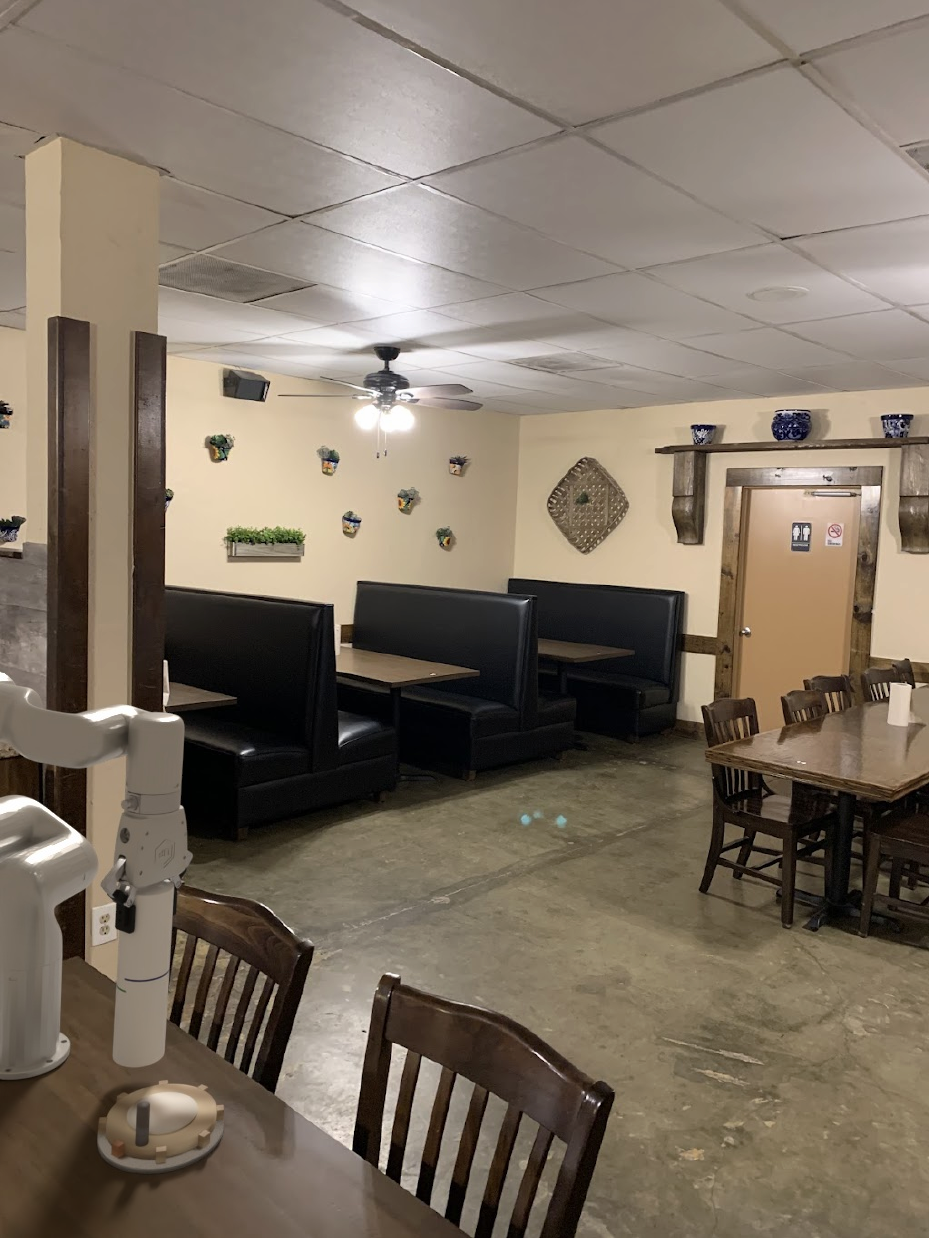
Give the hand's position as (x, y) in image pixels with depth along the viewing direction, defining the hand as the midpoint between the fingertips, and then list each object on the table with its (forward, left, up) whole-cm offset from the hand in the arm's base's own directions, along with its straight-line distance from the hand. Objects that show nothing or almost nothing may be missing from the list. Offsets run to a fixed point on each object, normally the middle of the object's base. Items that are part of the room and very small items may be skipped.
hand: (146, 920), depth 135 cm
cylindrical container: (0, 0, -20) cm, 20 cm away
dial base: (+11, -7, -24) cm, 27 cm away
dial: (+11, -7, -23) cm, 26 cm away
